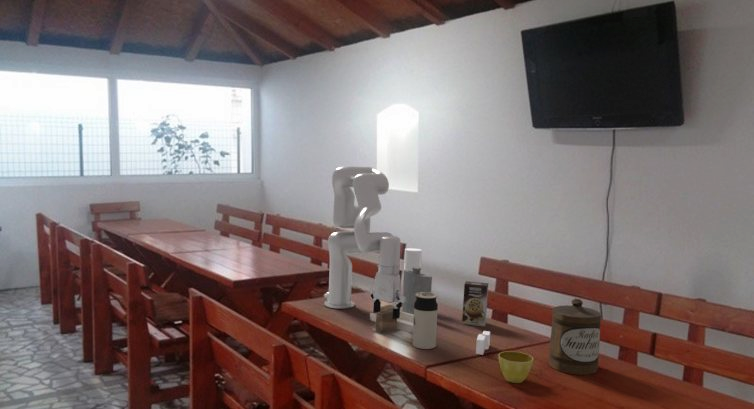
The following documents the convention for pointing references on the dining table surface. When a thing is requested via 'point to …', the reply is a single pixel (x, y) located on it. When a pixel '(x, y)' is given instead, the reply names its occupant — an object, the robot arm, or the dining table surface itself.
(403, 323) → the rack
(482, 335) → the napkin holder
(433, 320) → the travel mug
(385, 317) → the brown wooden block
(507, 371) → the flower pot
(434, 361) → the dining table surface
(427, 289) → the hip flask
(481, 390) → the dining table surface
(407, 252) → the cylindrical container
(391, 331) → the mat
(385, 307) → the offcut top
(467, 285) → the coffee box
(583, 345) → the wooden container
